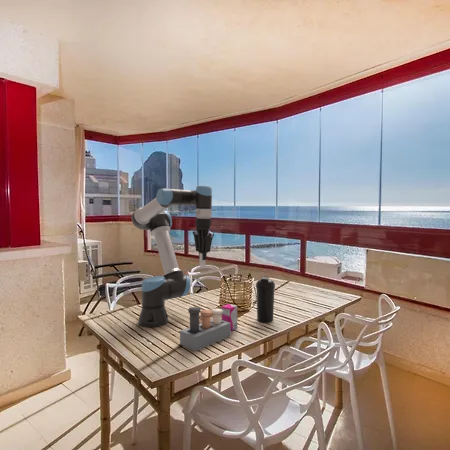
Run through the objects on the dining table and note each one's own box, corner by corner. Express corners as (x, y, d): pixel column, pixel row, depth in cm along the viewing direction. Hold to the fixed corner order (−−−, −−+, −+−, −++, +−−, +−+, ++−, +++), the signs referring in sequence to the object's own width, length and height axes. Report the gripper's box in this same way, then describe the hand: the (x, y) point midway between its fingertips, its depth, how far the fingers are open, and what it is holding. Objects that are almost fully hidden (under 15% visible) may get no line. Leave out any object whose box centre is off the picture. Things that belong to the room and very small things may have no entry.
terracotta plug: (198, 331, 132) (198, 311, 132) (206, 328, 136) (206, 308, 136) (205, 334, 129) (206, 314, 129) (214, 331, 133) (214, 311, 132)
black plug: (185, 330, 127) (185, 309, 127) (195, 326, 131) (195, 306, 131) (193, 333, 124) (193, 311, 123) (202, 329, 127) (203, 308, 127)
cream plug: (209, 329, 138) (209, 310, 137) (216, 326, 141) (216, 307, 141) (217, 332, 134) (217, 312, 134) (224, 329, 138) (224, 310, 138)
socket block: (179, 344, 128) (179, 330, 128) (215, 329, 144) (215, 317, 144) (195, 351, 121) (195, 337, 121) (230, 335, 137) (230, 322, 137)
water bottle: (275, 317, 161) (276, 276, 161) (273, 324, 152) (274, 280, 151) (257, 315, 164) (257, 275, 163) (254, 322, 154) (254, 279, 154)
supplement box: (228, 325, 150) (228, 303, 150) (237, 328, 146) (237, 305, 146) (221, 328, 146) (221, 306, 145) (230, 331, 142) (230, 308, 141)
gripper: (188, 217, 143) (187, 265, 144) (207, 218, 134) (206, 269, 136) (200, 217, 148) (199, 263, 150) (218, 218, 140) (217, 267, 141)
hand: (202, 266), depth 143 cm, fingers closed
